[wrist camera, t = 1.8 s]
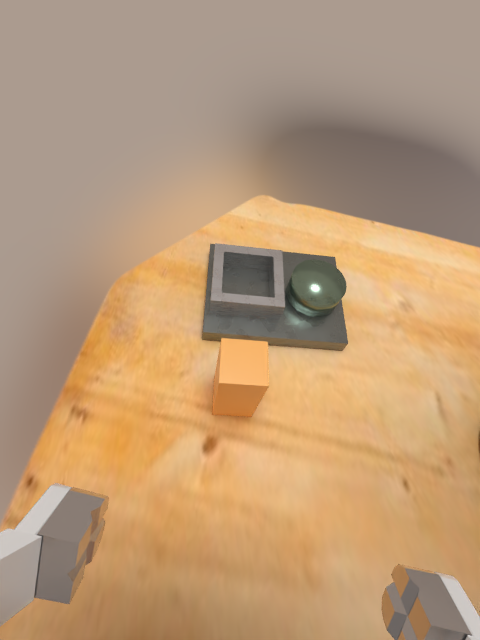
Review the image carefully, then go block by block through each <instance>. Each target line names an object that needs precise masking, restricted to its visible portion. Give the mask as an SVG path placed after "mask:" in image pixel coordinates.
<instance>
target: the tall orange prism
mask: <svg viewBox="0 0 480 640" xmlns="http://www.w3.org/2000/svg"><path fill="white" fill-rule="evenodd" d="M268 387H269V367H268V342H266V341H253V340H241V339H228V338H221V343H220V349H219V355H218V360H217V366H216V371H215V377H214V392H213V408H212V415H229V416H247V417H251V416H252V415H253V413H254V411H255V409H256V408H257V406H258V404H259V402H260V401H261V399H262V397H263V396H264V394H265V392H266V390H267V389H268Z"/></svg>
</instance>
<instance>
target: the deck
mask: <svg viewBox="0 0 480 640" xmlns="http://www.w3.org/2000/svg"><path fill="white" fill-rule="evenodd" d="M345 292H346V281H345V278H344V276H343V275H342V273H341V272H340V271H339V270H338V269H337V268H336V261H335V257H329V256H319V255H310V254H300V253H291V252H282V251H281V250H272V249H262V248H253V247H244V246H234V245H225V244H210V255H209V267H208V278H207V290H206V302H205V313H204V325H203V336H202V340H214V341H221V338H228V339H241V340H253V341H266V342H268V345H277V346H290V347H303V348H315V349H328V350H341V351H342V350H343V349H344V348H345V347H346V345H347V344H348V340H347V333H346V327H345V320H344V314H343V307H342V300H341V299H342V297H343V296H344V294H345Z"/></svg>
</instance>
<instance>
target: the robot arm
mask: <svg viewBox="0 0 480 640" xmlns="http://www.w3.org/2000/svg"><path fill="white" fill-rule="evenodd" d="M108 502H109V497H108V496H105V495H101V494H97V493H94V492H90V491H86V490H82V489H78V488H75V487H73V488H72V487H69V486H65V485H61V484H58V483H55V484H53V485H51V486H50V487H49V488H48V489H47V491H46V492H45V493H44V494H43V495H42V497H41V498H40V499H39V500H38V501H37V503H36V504H35V505H34V506H33V507H32V509H31V510H30V511H29V512H28V513H27V515H26V516H25V517H24V518H23V519H22V521H21V522H20V523H19V524H18V525H17V527H16V528H15V529H14V530H13V529H6V530H4V531H2V532H0V626H1V625H3V624H4V623H5V622H6V621H8V620H9V619H10V618H12V617H13V616H14V615H15V614H17V613H18V612H19V611H20V610H22V609H23V608H24V607H25V606H27V605H28V604H29V603H31V602H32V601H33V600H34V598H40V599H45V600H50V601H55V602H60V603H65V604H70V602H71V600H72V598H73V596H74V594H75V593H76V591H77V589H78V587H79V585H80V583H81V581H82V579H83V575H84V569H85V565H87V564H88V563H90V562H91V561H92V559H93V557H94V555H95V553H96V551H97V548H98V546H99V543H100V541H101V538H102V534H103V530H104V526H105V521H104V519H103V516H104V514H105V512H106V510H107V509H108ZM391 575H392V578H393V581H394V582H393V583H392V584H390V585H389V586H387V587H386V588H385V591H384V594H383V597H382V614H383V620H384V623H385V626H386V629H387V631H388V632H389V633H390V634H391V636H392V637H393V638H394V639H395V640H480V617H479V615H478V613H477V612H476V610H475V608H474V607H473V605H472V603H471V602H470V600H469V598H468V597H467V595H466V593H465V592H464V590H463V588H462V587H461V585H460V583H459V582H458V580H457V579H455V578H454V577H453V576H451V575H446V574H442V573H437V572H431V571H427V570H423V569H418V568H414V567H409V566H405V565H400V564H398V565H397V566H396V567H394V570H393V572H392V574H391Z"/></svg>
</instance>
